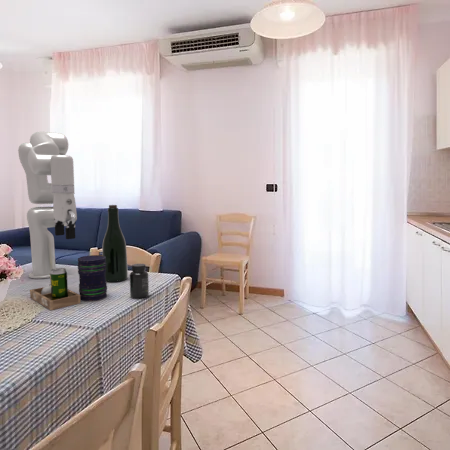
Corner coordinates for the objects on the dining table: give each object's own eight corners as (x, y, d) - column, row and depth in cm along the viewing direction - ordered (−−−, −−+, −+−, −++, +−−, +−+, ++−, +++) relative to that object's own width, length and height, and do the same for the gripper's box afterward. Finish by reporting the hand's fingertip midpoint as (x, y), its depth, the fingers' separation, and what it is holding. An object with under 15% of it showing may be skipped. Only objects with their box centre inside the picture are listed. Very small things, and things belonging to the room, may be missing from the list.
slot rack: (29, 297, 133) (29, 290, 133) (58, 291, 141) (57, 284, 140) (50, 310, 120) (49, 301, 120) (80, 303, 127) (80, 294, 127)
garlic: (49, 294, 137) (49, 281, 137) (61, 296, 136) (60, 282, 135) (37, 299, 131) (36, 285, 131) (49, 301, 130) (48, 287, 129)
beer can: (60, 299, 131) (58, 267, 129) (71, 301, 129) (70, 268, 127) (48, 304, 126) (46, 270, 124) (59, 306, 124) (58, 272, 122)
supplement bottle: (147, 292, 140) (146, 262, 138) (149, 297, 133) (149, 266, 132) (129, 294, 137) (128, 263, 136) (130, 299, 131) (129, 267, 130)
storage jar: (95, 302, 128) (93, 261, 126) (73, 299, 131) (71, 259, 130) (112, 294, 137) (111, 256, 135) (92, 291, 141) (90, 254, 139)
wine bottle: (115, 275, 166) (112, 203, 162) (132, 278, 161) (130, 204, 157) (97, 280, 157) (94, 205, 153) (115, 283, 152) (112, 205, 148)
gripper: (83, 191, 126) (85, 239, 128) (64, 188, 138) (65, 232, 140) (61, 191, 121) (64, 241, 123) (43, 189, 133) (45, 234, 135)
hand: (65, 236), depth 132 cm, fingers open, 9 cm apart
